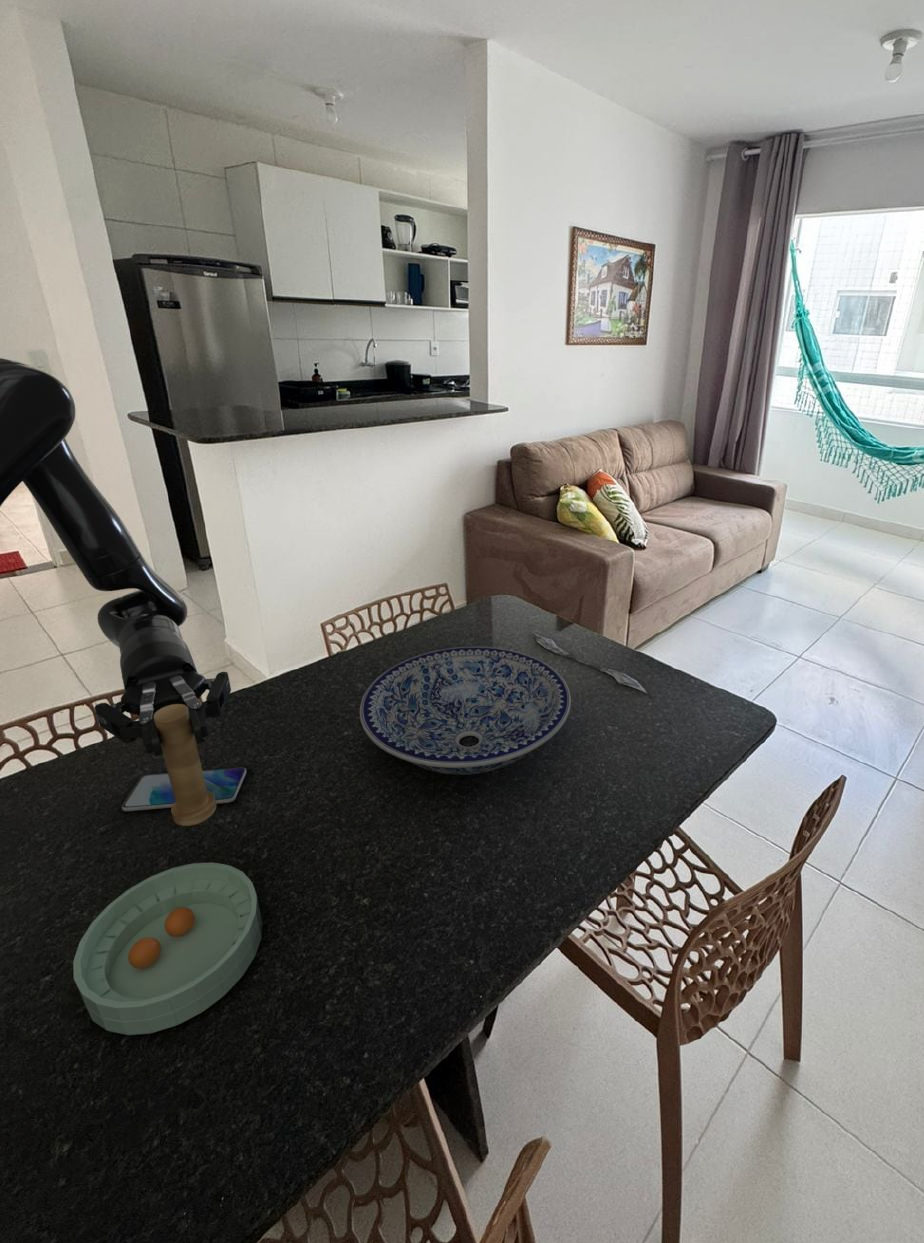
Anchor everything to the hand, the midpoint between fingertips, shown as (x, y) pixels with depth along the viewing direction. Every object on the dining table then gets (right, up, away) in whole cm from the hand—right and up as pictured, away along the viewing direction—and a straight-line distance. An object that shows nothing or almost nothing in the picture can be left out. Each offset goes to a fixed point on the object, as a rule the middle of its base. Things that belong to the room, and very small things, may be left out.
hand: (178, 741), depth 66 cm
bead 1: (-6, -24, +3) cm, 25 cm away
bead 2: (-4, -23, +7) cm, 24 cm away
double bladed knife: (+45, -1, +67) cm, 81 cm away
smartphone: (-16, -15, +28) cm, 36 cm away
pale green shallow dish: (-3, -26, +5) cm, 26 cm away
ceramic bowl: (+24, -11, +42) cm, 50 cm away
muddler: (-2, -10, +7) cm, 12 cm away
